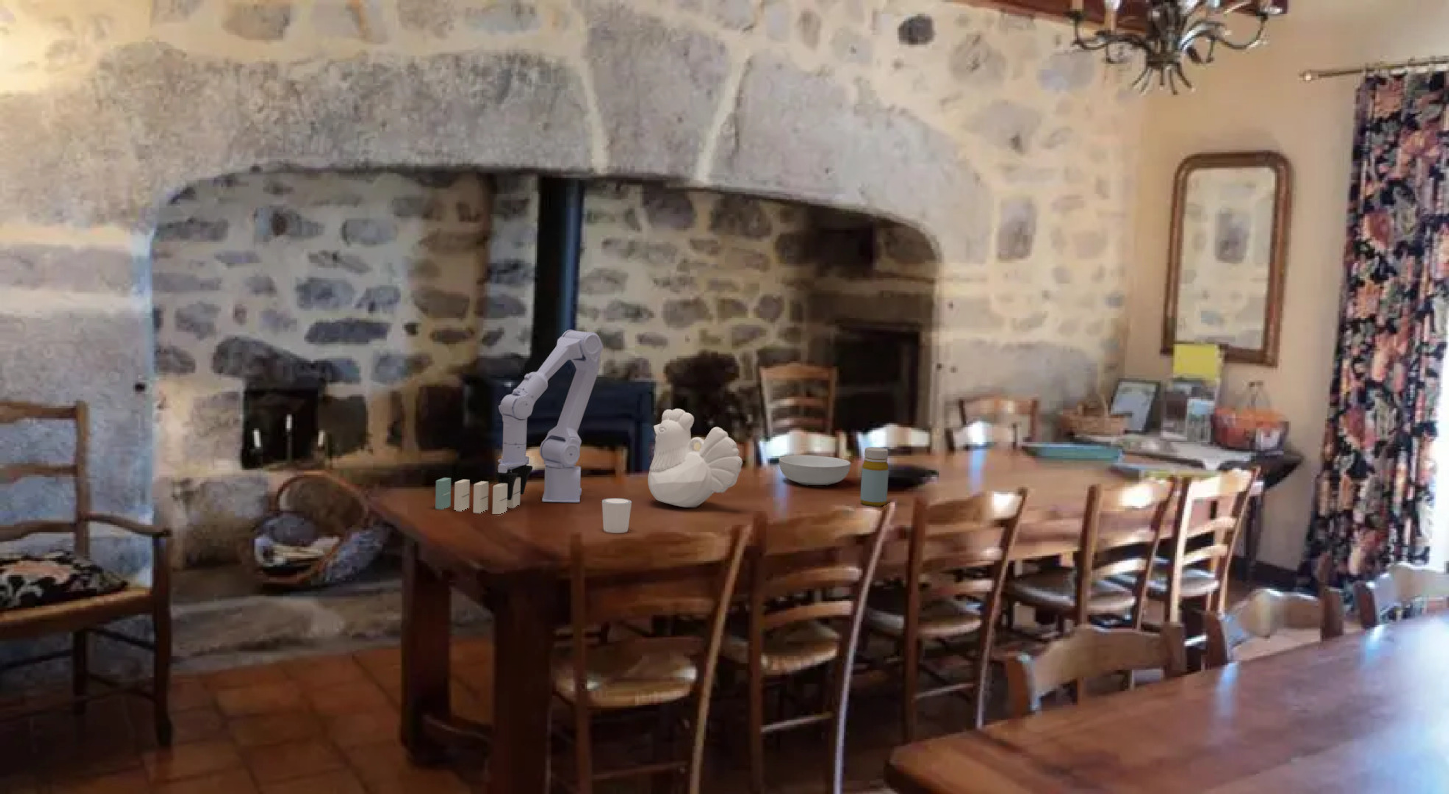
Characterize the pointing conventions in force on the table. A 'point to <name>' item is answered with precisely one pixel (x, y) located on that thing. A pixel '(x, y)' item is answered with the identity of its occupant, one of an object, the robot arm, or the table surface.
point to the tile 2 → (461, 495)
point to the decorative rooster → (690, 462)
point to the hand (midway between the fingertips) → (513, 496)
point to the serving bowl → (814, 469)
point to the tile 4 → (500, 498)
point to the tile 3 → (480, 497)
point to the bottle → (874, 477)
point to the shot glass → (616, 514)
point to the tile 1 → (443, 493)
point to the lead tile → (515, 494)
